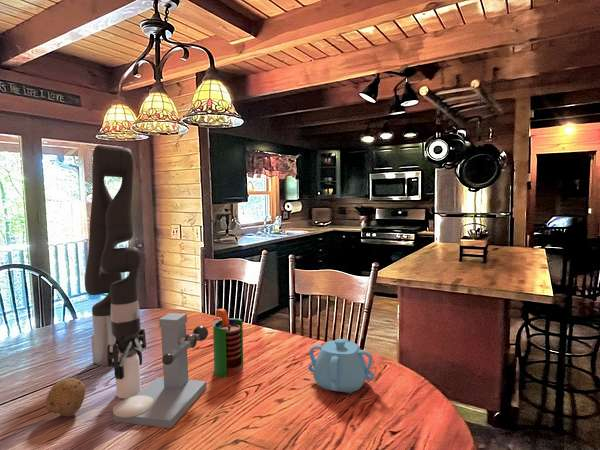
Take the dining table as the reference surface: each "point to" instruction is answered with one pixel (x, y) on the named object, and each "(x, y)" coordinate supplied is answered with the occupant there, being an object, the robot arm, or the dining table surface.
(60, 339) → the dining table surface
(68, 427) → the dining table surface
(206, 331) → the lever
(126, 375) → the can
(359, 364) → the decorative pot
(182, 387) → the press
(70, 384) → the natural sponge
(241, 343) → the motor
